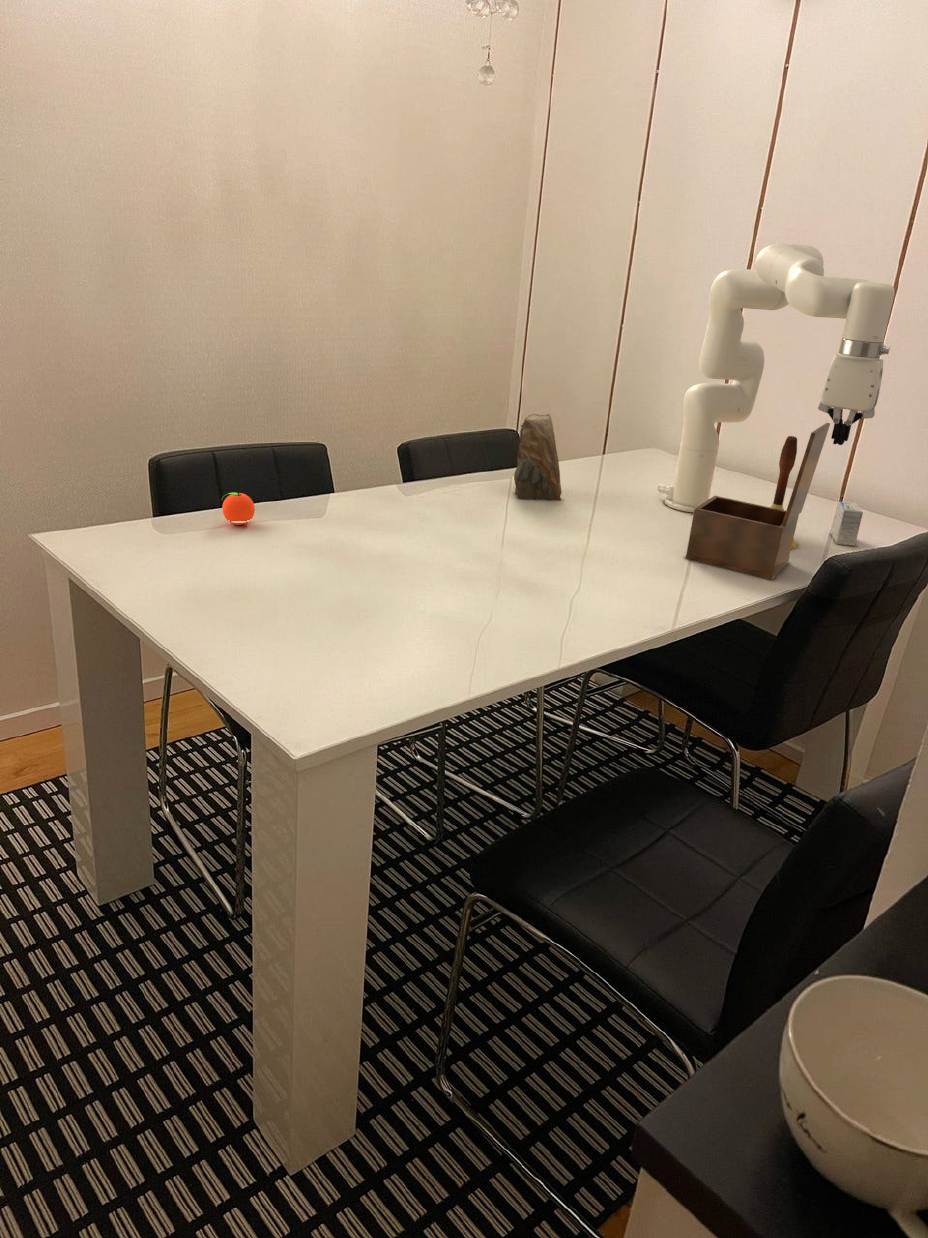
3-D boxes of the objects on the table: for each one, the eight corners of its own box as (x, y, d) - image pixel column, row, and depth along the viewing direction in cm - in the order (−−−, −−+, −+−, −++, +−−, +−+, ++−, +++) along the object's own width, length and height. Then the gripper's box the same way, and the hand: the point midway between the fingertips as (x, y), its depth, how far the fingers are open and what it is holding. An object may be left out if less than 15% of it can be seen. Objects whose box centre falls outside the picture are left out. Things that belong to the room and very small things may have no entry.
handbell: (759, 529, 230) (780, 428, 220) (806, 543, 223) (830, 439, 212) (733, 538, 222) (754, 433, 212) (780, 553, 214) (804, 445, 204)
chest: (685, 558, 206) (694, 508, 202) (705, 543, 217) (714, 495, 213) (771, 580, 198) (782, 528, 193) (787, 562, 209) (799, 513, 204)
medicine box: (855, 546, 223) (864, 512, 220) (835, 544, 224) (844, 509, 220) (849, 536, 230) (857, 502, 227) (830, 534, 231) (838, 500, 228)
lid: (811, 432, 184) (815, 433, 184) (826, 422, 195) (830, 423, 195) (781, 525, 193) (785, 526, 193) (797, 511, 204) (801, 512, 204)
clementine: (212, 524, 204) (210, 492, 201) (230, 516, 210) (229, 485, 207) (243, 531, 201) (242, 499, 198) (261, 522, 207) (260, 491, 204)
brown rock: (514, 499, 238) (521, 421, 230) (504, 485, 250) (511, 410, 242) (561, 500, 241) (571, 423, 233) (550, 486, 252) (558, 412, 244)
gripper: (903, 353, 181) (880, 447, 188) (824, 343, 188) (805, 434, 195) (898, 356, 175) (874, 453, 182) (816, 346, 182) (796, 439, 189)
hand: (838, 443), depth 189 cm, fingers closed
